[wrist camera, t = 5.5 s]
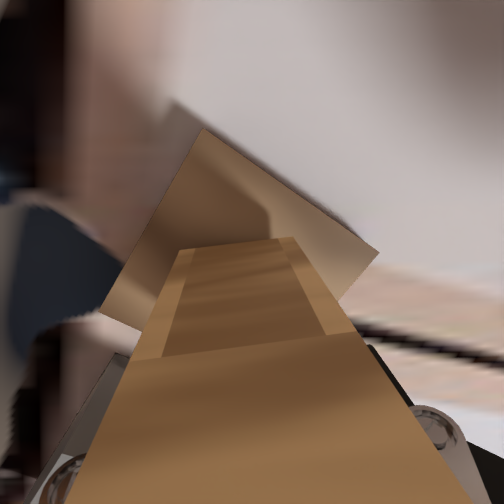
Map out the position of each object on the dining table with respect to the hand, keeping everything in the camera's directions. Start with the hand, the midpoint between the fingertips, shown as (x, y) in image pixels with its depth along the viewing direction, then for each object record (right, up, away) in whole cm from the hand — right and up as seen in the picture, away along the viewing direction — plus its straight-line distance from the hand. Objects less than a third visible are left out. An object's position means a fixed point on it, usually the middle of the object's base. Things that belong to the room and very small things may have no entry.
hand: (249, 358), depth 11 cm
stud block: (-1, +3, +8) cm, 8 cm away
